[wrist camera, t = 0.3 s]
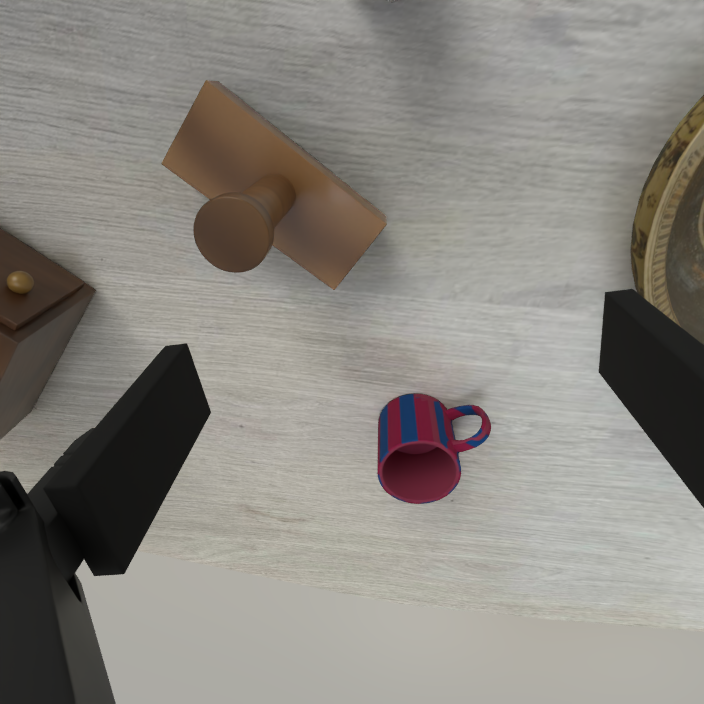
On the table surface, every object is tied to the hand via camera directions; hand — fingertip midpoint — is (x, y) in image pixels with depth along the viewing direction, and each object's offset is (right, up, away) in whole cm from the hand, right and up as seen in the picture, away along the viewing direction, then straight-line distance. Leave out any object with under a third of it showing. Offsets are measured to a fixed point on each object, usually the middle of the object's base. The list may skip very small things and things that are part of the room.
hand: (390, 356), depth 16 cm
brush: (-6, +13, +21) cm, 25 cm away
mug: (+6, -6, +30) cm, 31 cm away
